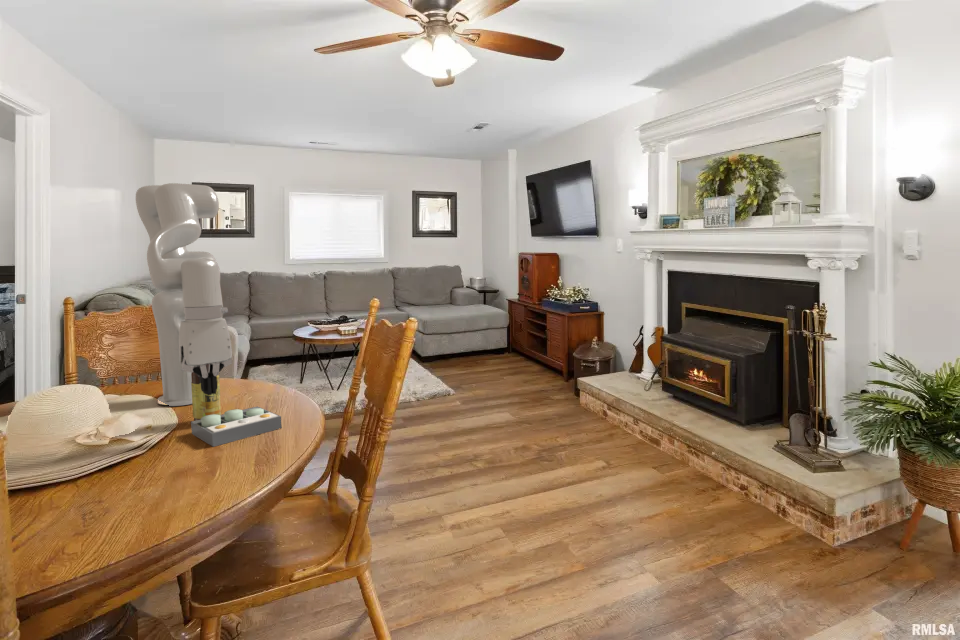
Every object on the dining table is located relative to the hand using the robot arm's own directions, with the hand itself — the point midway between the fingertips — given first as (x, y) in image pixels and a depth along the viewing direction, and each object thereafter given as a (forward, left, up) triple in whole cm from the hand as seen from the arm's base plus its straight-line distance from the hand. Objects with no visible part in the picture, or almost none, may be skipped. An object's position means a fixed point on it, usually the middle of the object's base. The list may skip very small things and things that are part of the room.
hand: (209, 393), depth 121 cm
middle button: (-1, +5, -9) cm, 10 cm away
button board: (+1, +5, -10) cm, 12 cm away
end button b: (-1, +11, -10) cm, 14 cm away
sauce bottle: (-11, +3, -11) cm, 16 cm away
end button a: (-1, 0, -9) cm, 9 cm away
